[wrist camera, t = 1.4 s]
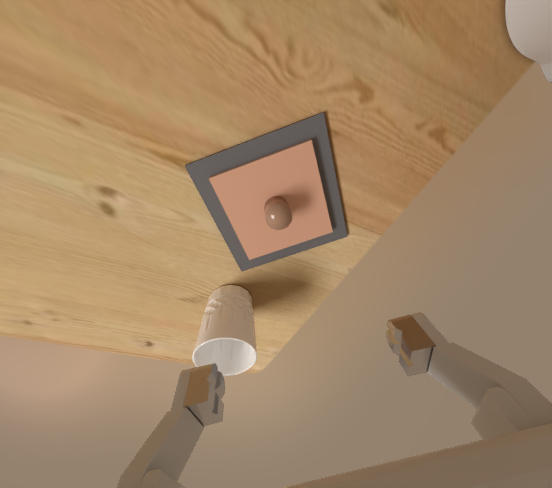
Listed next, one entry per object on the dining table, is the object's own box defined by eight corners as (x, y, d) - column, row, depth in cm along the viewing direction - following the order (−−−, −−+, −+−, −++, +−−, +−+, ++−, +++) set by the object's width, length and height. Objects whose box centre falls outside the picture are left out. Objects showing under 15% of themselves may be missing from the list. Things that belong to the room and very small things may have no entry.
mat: (322, 112, 24) (323, 112, 24) (346, 234, 33) (347, 236, 32) (185, 165, 26) (184, 165, 26) (241, 269, 34) (241, 271, 34)
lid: (310, 139, 25) (318, 144, 22) (331, 229, 32) (340, 243, 28) (209, 176, 26) (204, 186, 23) (249, 256, 33) (249, 273, 29)
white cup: (195, 302, 37) (179, 362, 28) (227, 272, 34) (219, 328, 26) (234, 323, 40) (229, 382, 32) (265, 297, 38) (269, 354, 29)
